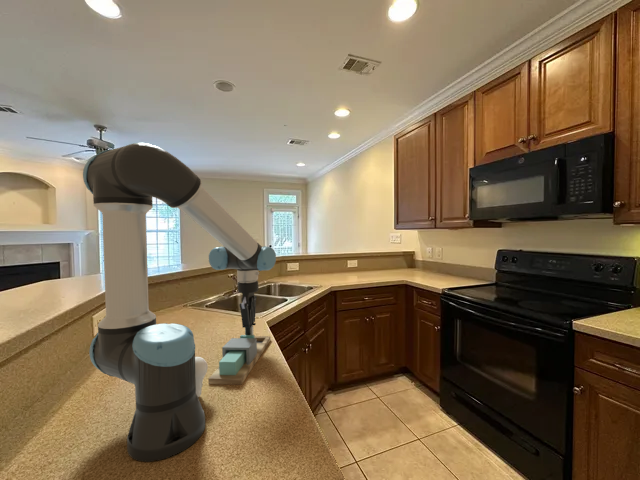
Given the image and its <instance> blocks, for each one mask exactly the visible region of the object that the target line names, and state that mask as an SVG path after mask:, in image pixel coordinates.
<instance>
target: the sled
mask: <svg viewBox="0 0 640 480" xmlns="http://www.w3.org/2000/svg"><path fill="white" fill-rule="evenodd" d="M255 336H256V335H245V334H240V336H239V338H255ZM245 362H246V350H230V351H229V352H228V353H227V354H226V355H225V356H224V357H223V356H222V358H221V359H220V360H219V361H218V367H219V375H236V374H237V373H238V371H239V370H240V369H241V367H242V366H243V365H244V363H245Z"/></svg>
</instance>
